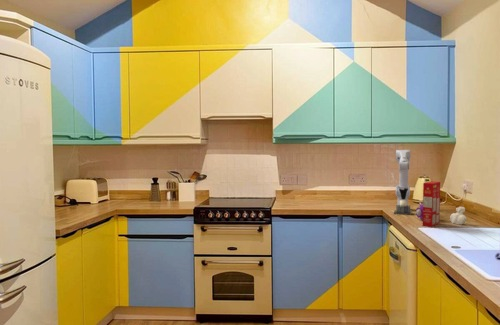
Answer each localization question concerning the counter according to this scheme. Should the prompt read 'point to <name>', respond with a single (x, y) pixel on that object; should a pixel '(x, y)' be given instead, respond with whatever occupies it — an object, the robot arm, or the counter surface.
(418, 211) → the toy camera
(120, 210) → the counter surface
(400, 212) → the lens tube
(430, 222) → the food packaging
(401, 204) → the plug
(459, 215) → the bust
